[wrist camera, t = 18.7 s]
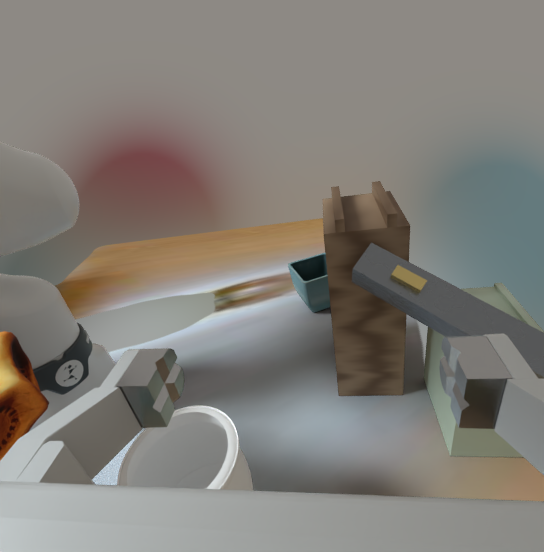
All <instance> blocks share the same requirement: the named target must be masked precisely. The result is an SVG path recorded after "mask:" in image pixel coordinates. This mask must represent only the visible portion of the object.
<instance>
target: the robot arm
mask: <svg viewBox="0 0 544 552" xmlns="http://www.w3.org/2000/svg"><path fill="white" fill-rule="evenodd" d="M78 213H79V198H78V194H77V191H76V188H75V186H74V184H73V182H72V180H71V179H70V177H69V176H68V175H67V174H66V172H65V171H64V170H63V169H62V168H61V167H59V166H58V165H57V164H56V163H54V162H53V161H51V160H50V159H48V158H46V157H44V156H42V155H40V154H36V153H32V152H28V151H25V150H21V149H18V148H16V147H13V146H10V145H8V144H6V143H4V142H1V141H0V257H1V256H4V255H7V254H10V253H14V252H17V251H20V250H23V249H26V248H29V247H33V246H35V245H39V244H41V243H43V242H45V241H47V240H49V239H51V238H53V237H55V236H57V235H58V234H61V233H62V232H64V231H66V230H68V229H70V228H72V227H73V226H74V224H75V222H76V220H77V217H78ZM3 331H7V332H12V333H13V334H14V335H15V336H16V337H17V339H18V341H19V343H20V345H21V347H22V349H23V351H24V352H25V354H26V355H27V356H28V358H29V360H30V362H31V365H32V369H33V373H34V375H35V378H36V380H37V382H38V385H39V388H40V392H41V393H42V394H43V395H44V396H45V397H46V399H47V400H48V401H49V405H48V408H47V410H46V411H45V412H44V413H43V414H42V416H41V417H40V418H39V419H38V420H37V421H36V422H35V424H34V425H33V426H32V428H31V429H30V431H29V432H28V433H26V434H25V435H24V436H22V437H21V438H19V439H18V440H17V441H16V442H15V444H14V445H13V446H12V447H11V448H10V450H9V451H8V452H7V453H6V455H5V456H4V457H3V458H2V459H1V461H0V552H544V501H518V500H491V499H465V498H438V497H411V496H384V495H356V494H329V493H302V492H276V491H249V490H223V489H197V488H171V487H144V486H118V485H95V484H94V482H93V481H92V479H93V478H94V477H95V476H96V475H97V474H98V473H99V472H100V471H101V470H102V469H103V468H104V467H105V466H106V465H107V464H108V463H109V462H110V461H111V460H112V459H113V458H114V457H115V456H116V455H117V454H118V453H119V452H120V451H121V450H122V449H123V448H124V447H125V446H126V445H127V444H128V443H129V442H130V441H131V440H132V439H133V438H134V437H135V436H136V435H137V434H138V433H139V432H140V431H141V430H142V428H153V427H167V426H168V424H169V422H170V419H171V417H172V415H173V412H174V410H175V407H174V404H173V403H174V402H175V401H176V400H177V399H178V398H179V397H180V396H181V394H182V391H183V387H184V374H183V371H182V368H181V367H180V366H178V365H177V364H176V363H175V361H176V359H177V356H176V354H175V352H174V350H173V349H129V350H127V351H125V352H124V353H123V355H122V356H121V358H120V359H119V360H118V362H117V363H116V364H115V363H114V361H113V359H112V358H111V356H110V355H109V353H108V352H107V350H106V349H105V347H104V346H103V345H98V344H92V342H91V341H90V339H89V336H88V334H87V332H86V331H85V330H84V329H83V327H82V326H81V325H80V324H79V323H77V322H76V321H75V319H74V317H73V315H72V314H71V312H70V310H69V308H68V306H67V305H66V303H65V301H64V299H63V298H62V296H61V294H60V292H59V290H58V289H57V288H56V287H55V286H54V285H52V284H51V283H49V282H47V281H45V280H43V279H40V278H37V277H31V276H16V275H5V274H1V273H0V332H3ZM441 348H442V351H443V353H444V356H443V357H442V358H441V359H440V366H439V370H440V379H441V383H442V386H443V389H444V392H445V394H447V395H448V396H449V397H451V405H450V407H451V410H452V412H453V415H454V417H455V420H456V422H457V425H458V427H459V428H476V429H495V430H494V431H495V432H496V433H497V434H499V435H500V436H501V437H502V438H503V439H504V440H505V441H506V442H507V443H509V444H510V445H511V446H512V447H513V448H514V449H515V450H516V451H517V452H519V453H520V454H521V455H522V456H523V457H524V458H525V459H526V460H527V461H529V462H530V463H531V464H532V465H533V466H534V467H535V468H536V469H537V470H539V471H540V472H541V473H542V474H543V475H544V379H538V377H537V376H536V375H535V373H534V372H533V370H532V369H531V368H530V366H529V365H528V363H527V362H526V361H525V359H524V358H523V357H522V355H521V354H520V352H519V351H518V350H517V348H516V347H515V346H514V344H513V343H512V341H511V340H510V339H509V337H508V336H507V335H505V334H504V333H503V334H486V335H472V336H452V337H444V338H443V340H442V346H441Z"/></svg>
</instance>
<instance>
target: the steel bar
mask: <svg viewBox="0 0 544 552" xmlns="http://www.w3.org/2000/svg"><path fill="white" fill-rule="evenodd" d="M352 282H353V283H355V284H356V285H358V286H360V287H361V288H363V289H365V290H367V291H368V292H370V293H372V294H373V295H375V296H377V297H378V298H380V299H382V300H384V301H385V302H387V303H389V304H390V305H392V306H394V307H396V308H397V309H399V310H401V311H402V312H404V313H406V314H407V315H409V316H411V317H413V318H414V319H416V320H418V321H419V322H421V323H423V324H425V325H426V326H428V327H430V328H431V329H433V330H435V331H437V332H438V333H440V334H442V335H443V336H445V337H452V336H472V335H486V334H503V333H504V334H505V335H507V336H508V337H509V339H510V340H511V341H512V343H513V344H514V346H515V347H516V348H517V350H518V351H519V352H520V354H521V355H522V357H523V358H524V359H525V361H526V362H527V363H528V365H529V366H530V368H531V369H532V370H533V372H534V373H535V375H536V376H537V377H538V379H544V333H543V332H541V331H540V330H538V329H536V328H534V327H532V326H530V325H528V324H526V323H524V322H522V321H520V320H519V319H517V318H515V317H513V316H511V315H509V314H507V313H505V312H503V311H501V310H499V309H497V308H496V307H494V306H492V305H490V304H488V303H486V302H484V301H482V300H480V299H478V298H476V297H475V296H473V295H471V294H469V293H467V292H465V291H463V290H461V289H459V288H457V287H455V286H454V285H452V284H450V283H448V282H446V281H444V280H442V279H440V278H438V277H436V276H434V275H433V274H431V273H429V272H427V271H424V270H423V269H421V268H419V267H417V266H415V265H413V264H411V263H410V262H408V261H406V260H404V259H402V258H400V257H398V256H396V255H394V254H392V253H390V252H389V251H387V250H385V249H383V248H381V247H379V246H377V245H375V244H373V243H371V244H370V245H369V247H368V248H367V249H366V251H365V252H364V254H363V255H362V256H361V258H360V259H359V260H358V262H357V263H356V265H355V266H354V267H353V271H352Z"/></svg>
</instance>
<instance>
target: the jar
mask: <svg viewBox="0 0 544 552" xmlns="http://www.w3.org/2000/svg"><path fill="white" fill-rule="evenodd" d="M117 485H118V486H144V487H171V488H197V489H223V490H249V491H253V483H252V477H251V473H250V469H249V466H248V463H247V461H246V458H245V456H244V454H243V452H242V450H241V449H240V447H239V438H238V434H237V431H236V428H235V425H234V423H233V422H232V420H231V419H230V418H229V417H228V416H227V415H226V414H225V413H224V412H222V411H220V410H218V409H216V408H213V407H209V406H200V405H199V406H189V407H184V408H180V409H177V410H175V411H174V412H173V415H172V417H171V419H170V422H169V424H168V426H167V427H153V428H146V429H145V430H144V431H143V432H142V433H141V434H140V435H139V436H138V437H137V439H136V440H135V441H134V442H133V444H132V445H131V447H130V448H129V450H128V451H127V453H126V455H125V457H124V459H123V461H122V464H121V467H120V470H119V474H118V482H117Z"/></svg>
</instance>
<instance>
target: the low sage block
mask: <svg viewBox="0 0 544 552" xmlns="http://www.w3.org/2000/svg"><path fill="white" fill-rule="evenodd" d="M461 290H463V291H465V292H467V293H469V294H471V295H473V296H475V297H476V298H478V299H480V300H482V301H484V302H486V303H488V304H490V305H492V306H494V307H496V308H497V309H499V310H501V311H503V312H505V313H507V314H509V315H511V316H513V317H515V318H517V319H519V320H520V321H522V322H524V323H526V324H528V325H530V326H532V327H534V328H536V329H538V330H540V331H541V332H543V333H544V331H543V330H542V329H541V328H540V327H539V325H538V324H537V323H536V322H535V321H534V320H533V318H532V317H531V316H530V315H529V314H528V313H527V311H526V310H525V309H524V308H523V307H522V306H521V304H520V303H519V302H518V301H517V300H516V299H515V298H514V296H513V295H512V294H511V293H510V292H509V291H508V289H507V288H506V287H505V286H504V285H503V284H502V283H495V284H494V287H483V288H468V289H461ZM444 337H445V336H443V335H442V334H440V333H438V332H437V331H435V330H433V329H431V328H430V327H428V333H427V345H426V357H425V369H424V381H425V384H426V386H427V389H428V392H429V395H430V398H431V401H432V404H433V407H434V410H435V413H436V416H437V419H438V422H439V425H440V428H441V430H442V433H443V436H444V439H445V442H446V445H447V448H448V451H449V454H450V456H468V457H523V456H522V455H521V454H520V453H519V452H517V451H516V450H515V449H514V448H513V447H512V446H511V445H510V444H509V443H507V442H506V441H505V440H504V439H503V438H502V437H501V436H500V435H499V434H497V433H496V432H495V431H494V430H495V429H476V428H459V427H458V425H457V422H456V420H455V417H454V415H453V412H452V410H451V407H450V405H451V397H449V396H448V395H447V394H445V392H444V389H443V386H442V383H441V379H440V370H439V366H440V359H441V358H442V357H443V356H444V353H443V351H442V348H441V346H442V340H443V338H444Z"/></svg>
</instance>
